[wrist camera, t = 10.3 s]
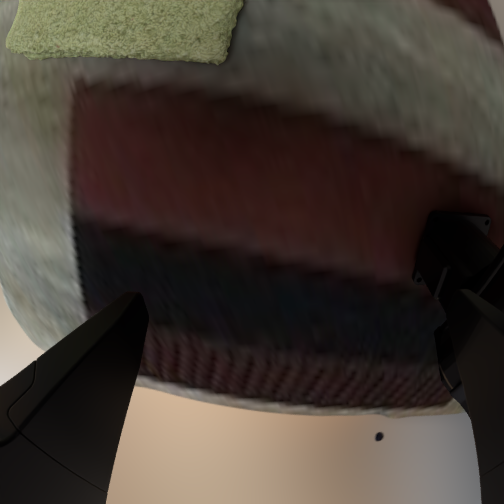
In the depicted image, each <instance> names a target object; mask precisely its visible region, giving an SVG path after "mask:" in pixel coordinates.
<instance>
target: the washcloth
mask: <svg viewBox="0 0 504 504" xmlns="http://www.w3.org/2000/svg"><path fill="white" fill-rule="evenodd" d="M243 1H244V0H19V7H18V11H17V14H16V17H15V20H14V23H13V25H12V27H11V30H10V31H9V33H8V36H7V38H6V47H7V48H9V49H11V52H12V53H18V54H21V53H23V54H24V55H25V56H26V57H28V59H29V60H36V59H39V60H41V61H42V60H43V59H45V58H46V59H47V58H48V57H54V58H64V57H69V58H71V57H78V56H82V57H98V58H99V57H102V58H103V57H107V58H108V57H109V56H111V57H113V58H118V59H120V58H126V57H129V58H137V59H144V60H145V59H148V60H149V59H158V60H162V61H167V60H169V61H174V60H177V61H179V60H184V61H186V62H188V61H192V62H200V63H207V64H209V63H216V64H217V66H218V64H220V63H222V62H224V61H225V60H226V57H227V55H228V54H229V53H228V52H227V49H228V47H229V46H230V40H231V38H232V34H231V31H232V29H233V28H234V27H235V26H236V22H237V20H236V17H237V14H238V12H239V11H240V10H241V8H242V6H243V5H244V4H243Z"/></svg>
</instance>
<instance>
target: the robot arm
mask: <svg viewBox="0 0 504 504" xmlns="http://www.w3.org/2000/svg"><path fill="white" fill-rule="evenodd" d="M435 217H437V218H436V219H435V220H433V219H434V218H435ZM486 220H487V221H486ZM485 221H486V222H485ZM490 224H491V218H490V217H489V216H487V215H481V214H468V213H455V212H441V211H433V212H432V213H430V215H429V217H428V222H427V226H426V230H425V234H424V238H423V239H422V242H421V246H420V250H419V253H418V257H417V260H416V264H415V271H414V274H413V278H412V279H413V281H414V283H415V284H416V285H422V284H426V285H427V287H428V289H429V290H430V292H431V294H432V296H433V297H434V299H438V300H439V301H440V303H441V305H442V307H443V308H444V310H445V312H446V318H447V320H446V321H445V322H444V323H443V324H442V325H441V327H438V328H437V329H436V330H435V331H434V336H435V342H436V349H437V356H438V363H439V371H440V376H441V381H442V383H443V384H444V385H445V387H446V388H447V390H448V391H449V392H450V394H451V396H452V397H453V398H454V399H455V400H457V401H458V402H459V403H460V404H461V406H462V407H463V408H464V410H465V411H466V412H467V414H468V416H469V417H470V419H471V423H472V428H473V434H474V439H475V445H476V452H477V458H478V466H479V475H480V487H481V501H482V504H504V245H503V246H502V248H501V250H500V249H499V248H498V247H497V246H496V245H495V244H494V243H493V242H492V241H491V240H490V239H489V238H488V237H487V234H488V231H489V228H490ZM419 277H420V278H419ZM418 278H419V279H418ZM148 322H149V315H148V311H147V308H146V305H145V302H144V299H143V296H142V294H141V293H139V292H126V293H124V294H123V295H121V296H120V297H118V298H117V299H116V300H114V301H113V302H112V303H110V304H109V305H107V306H106V307H105V308H103V309H102V310H101V311H99V312H98V313H96V314H95V315H94V316H92V317H91V318H90V319H88V320H87V321H86V322H84V323H83V324H82V325H80V326H79V327H78V328H76V329H75V330H74V331H72V332H71V333H70V334H68V335H67V336H66V337H64V338H63V339H62V340H60V341H59V342H58V343H57V344H55V345H54V346H53V347H51V348H50V349H49V350H47V351H46V352H45V353H44V354H42V355H41V356H40V357H38V358H37V361H33V362H32V363H31V364H30V365H28V366H27V367H26V368H24V369H23V370H22V371H21V372H19V373H18V374H17V375H15V376H14V377H13V378H11V379H10V380H8V381H7V382H6V383H4V384H3V385H1V386H0V504H106V499H107V492H108V488H109V483H110V479H111V474H112V470H113V465H114V461H115V457H116V452H117V448H118V444H119V440H120V436H121V432H122V428H123V425H124V421H125V417H126V413H127V410H128V406H129V403H130V399H131V396H132V392H133V389H134V385H135V382H136V378H137V375H138V371H139V368H140V363H141V358H142V353H143V347H144V342H145V337H146V332H147V327H148Z"/></svg>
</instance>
